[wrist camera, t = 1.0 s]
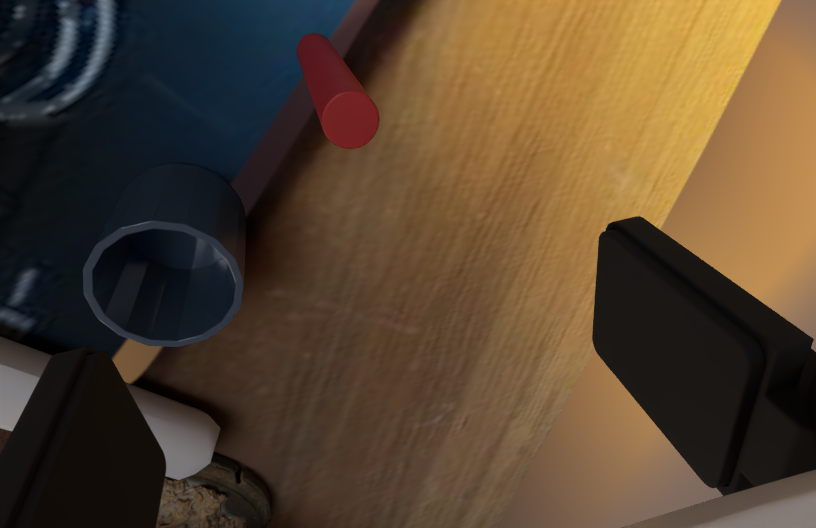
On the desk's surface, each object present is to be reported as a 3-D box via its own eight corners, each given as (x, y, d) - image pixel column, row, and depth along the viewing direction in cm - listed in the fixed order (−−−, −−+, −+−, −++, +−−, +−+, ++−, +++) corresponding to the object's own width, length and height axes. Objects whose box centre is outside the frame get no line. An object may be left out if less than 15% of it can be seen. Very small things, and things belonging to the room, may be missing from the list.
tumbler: (98, 178, 31) (53, 242, 24) (224, 151, 32) (216, 206, 25) (148, 281, 35) (121, 361, 28) (259, 254, 36) (260, 326, 29)
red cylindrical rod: (292, 36, 29) (315, 97, 18) (328, 29, 30) (374, 85, 18) (301, 74, 31) (328, 154, 19) (336, 67, 31) (384, 142, 19)
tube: (237, 439, 38) (-231, 274, 25) (196, 504, 38) (-295, 370, 25) (227, 403, 42) (-174, 249, 30) (190, 461, 42) (-228, 331, 30)
